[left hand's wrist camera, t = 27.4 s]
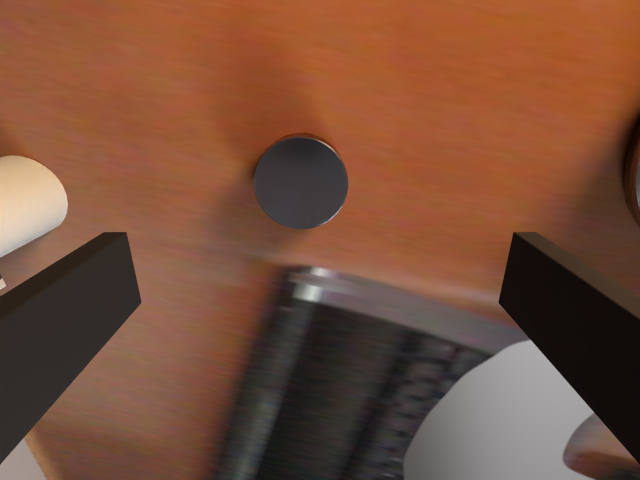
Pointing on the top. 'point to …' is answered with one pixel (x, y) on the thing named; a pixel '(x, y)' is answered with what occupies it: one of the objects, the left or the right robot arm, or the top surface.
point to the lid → (301, 181)
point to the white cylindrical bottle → (28, 202)
